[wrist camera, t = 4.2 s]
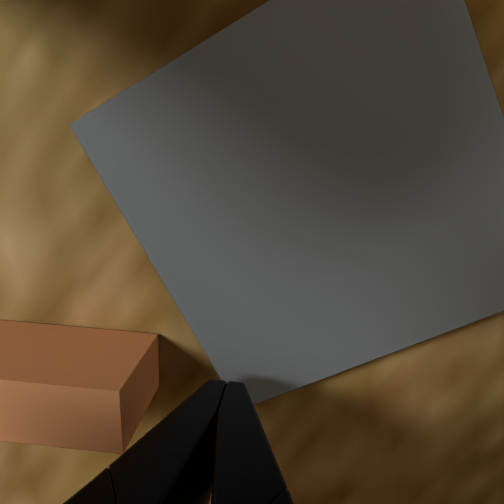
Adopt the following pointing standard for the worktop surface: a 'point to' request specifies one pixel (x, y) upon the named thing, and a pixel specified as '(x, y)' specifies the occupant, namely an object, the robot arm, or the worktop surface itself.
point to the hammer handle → (74, 385)
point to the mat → (315, 184)
